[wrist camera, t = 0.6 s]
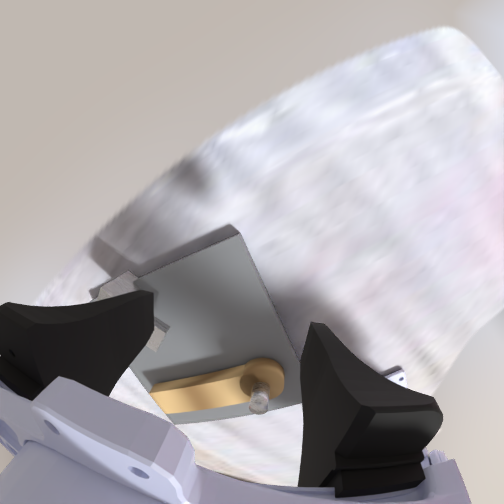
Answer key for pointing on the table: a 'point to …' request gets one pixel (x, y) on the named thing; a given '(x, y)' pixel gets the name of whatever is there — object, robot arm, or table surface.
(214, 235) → the table surface
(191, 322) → the base plate
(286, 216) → the table surface
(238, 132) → the table surface
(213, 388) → the link
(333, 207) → the table surface
